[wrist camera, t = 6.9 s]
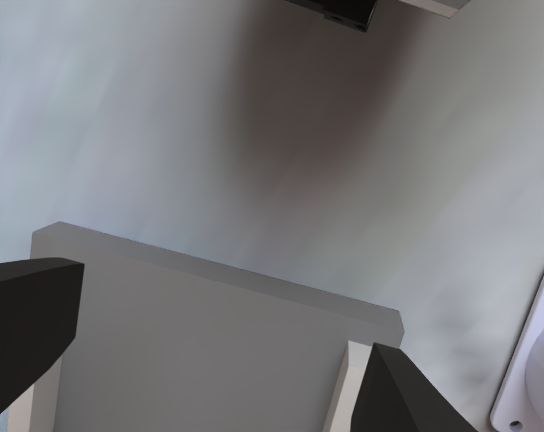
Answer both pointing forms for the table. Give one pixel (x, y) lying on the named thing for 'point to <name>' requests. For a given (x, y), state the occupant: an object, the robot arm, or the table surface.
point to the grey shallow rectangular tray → (198, 346)
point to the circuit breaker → (361, 4)
